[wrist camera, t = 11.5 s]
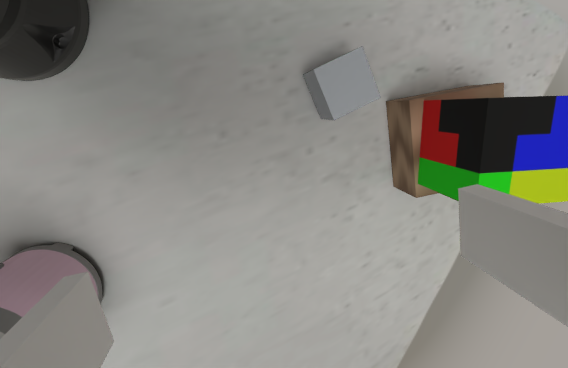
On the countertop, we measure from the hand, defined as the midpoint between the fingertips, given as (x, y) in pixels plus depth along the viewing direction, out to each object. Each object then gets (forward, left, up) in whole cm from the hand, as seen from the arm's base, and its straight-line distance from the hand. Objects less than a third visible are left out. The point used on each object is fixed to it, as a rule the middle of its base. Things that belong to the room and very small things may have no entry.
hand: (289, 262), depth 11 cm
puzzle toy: (+3, +25, -26) cm, 36 cm away
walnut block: (+3, +25, -32) cm, 40 cm away
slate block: (-6, +12, -32) cm, 34 cm away
